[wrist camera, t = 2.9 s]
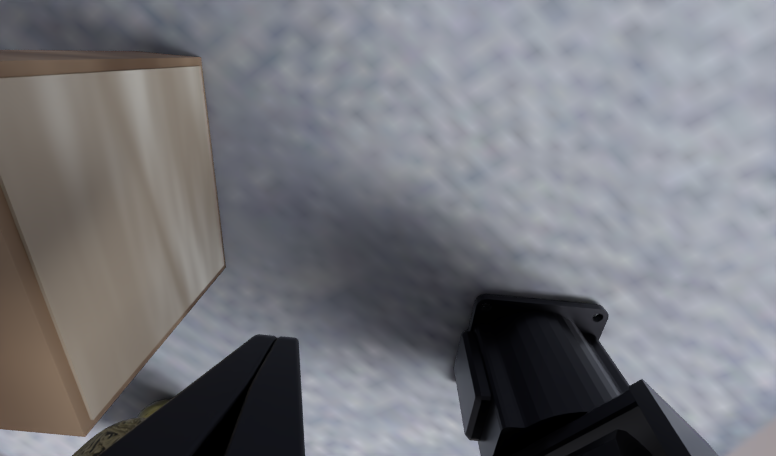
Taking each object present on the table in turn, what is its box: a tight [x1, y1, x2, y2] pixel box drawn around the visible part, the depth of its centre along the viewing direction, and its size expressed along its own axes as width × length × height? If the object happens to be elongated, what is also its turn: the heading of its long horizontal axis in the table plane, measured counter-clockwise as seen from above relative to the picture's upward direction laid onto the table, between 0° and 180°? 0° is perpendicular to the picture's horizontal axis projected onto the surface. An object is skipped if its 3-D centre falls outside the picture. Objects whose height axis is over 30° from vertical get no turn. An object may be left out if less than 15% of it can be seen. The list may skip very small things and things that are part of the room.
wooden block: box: [0, 50, 226, 437], centre depth 12 cm, size 3×10×9 cm, turn 175°
